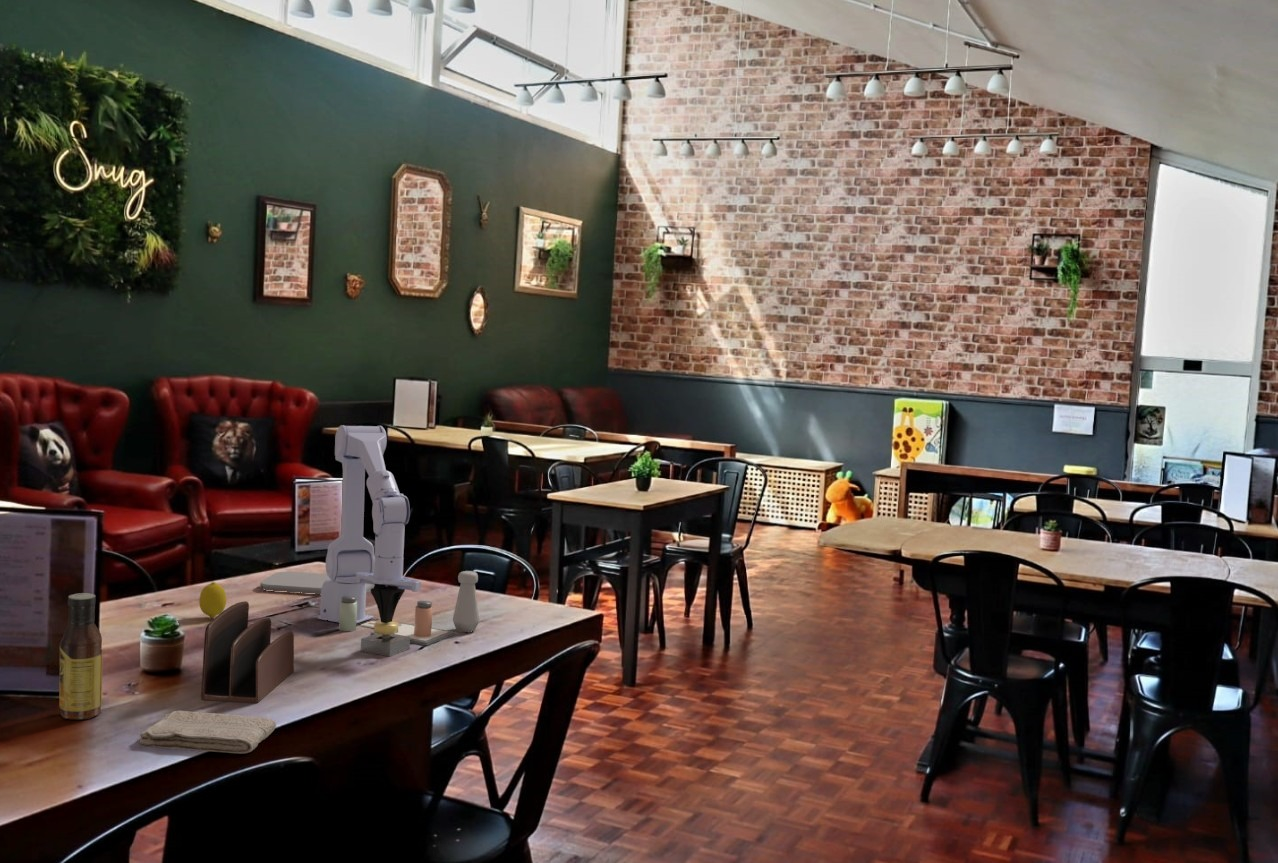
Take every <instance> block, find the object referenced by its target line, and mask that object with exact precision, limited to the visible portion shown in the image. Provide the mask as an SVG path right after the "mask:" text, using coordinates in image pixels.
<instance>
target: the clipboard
mask: <svg viewBox="0 0 1278 863" xmlns="http://www.w3.org/2000/svg"><path fill="white" fill-rule="evenodd" d="M397 623H398V633H395V634H397V635H403V636H409V637H410V644H416V645H421V646H429V645H432V644H434V643H436V642H439V641H441V640H444V638H445V639H447V638H449V636H450V637H452V636H455V635H456V632H455V631H452V630H446V629H441V628H435V627H432V628H431V636H428V637H418V636H415V635H414V624H411V623H404V622H397ZM374 634H376V633H375V632H374V631H372V632H370V636H371V635H374ZM454 634H455V635H454Z"/></svg>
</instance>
